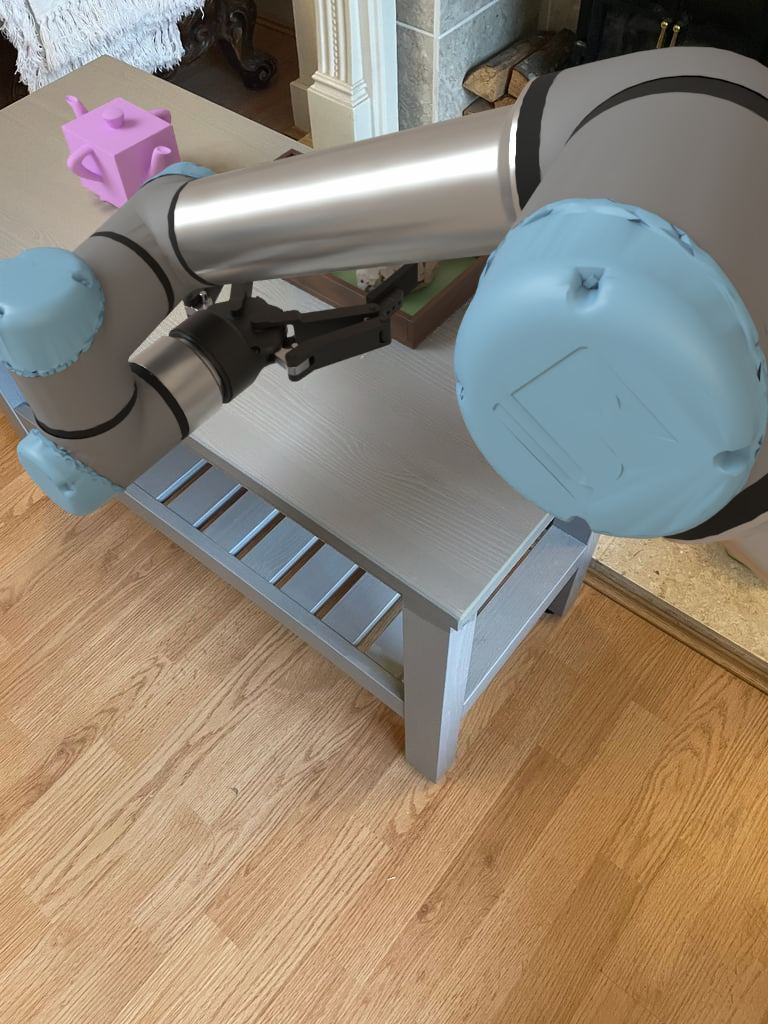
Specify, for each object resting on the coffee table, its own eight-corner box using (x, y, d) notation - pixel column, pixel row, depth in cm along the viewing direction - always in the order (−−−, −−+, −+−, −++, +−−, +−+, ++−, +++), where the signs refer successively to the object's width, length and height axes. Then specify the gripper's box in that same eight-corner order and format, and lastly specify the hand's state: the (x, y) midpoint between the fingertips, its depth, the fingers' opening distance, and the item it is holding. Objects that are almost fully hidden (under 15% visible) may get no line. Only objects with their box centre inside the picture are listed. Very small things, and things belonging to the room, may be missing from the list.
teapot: (203, 164, 108) (184, 82, 99) (188, 225, 100) (167, 142, 91) (90, 166, 108) (62, 84, 99) (67, 227, 101) (34, 145, 92)
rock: (390, 317, 86) (400, 222, 80) (347, 298, 90) (353, 205, 84) (460, 294, 94) (473, 206, 88) (417, 277, 97) (428, 191, 92)
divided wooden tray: (499, 271, 94) (503, 243, 91) (413, 349, 87) (413, 322, 84) (295, 175, 106) (291, 148, 103) (204, 237, 99) (197, 210, 96)
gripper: (111, 341, 75) (268, 230, 84) (310, 470, 66) (462, 328, 75) (85, 276, 69) (257, 163, 78) (300, 407, 59) (467, 261, 69)
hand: (358, 244), depth 77 cm, fingers open, 13 cm apart
